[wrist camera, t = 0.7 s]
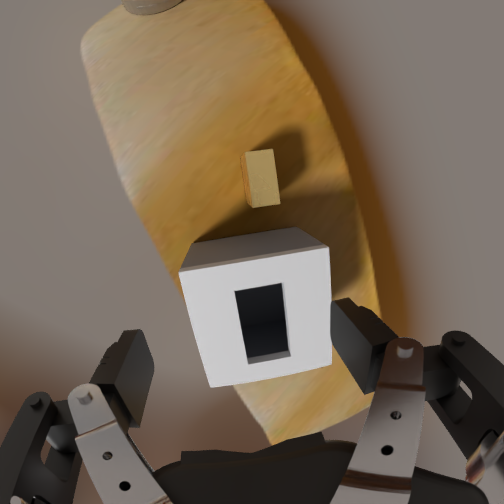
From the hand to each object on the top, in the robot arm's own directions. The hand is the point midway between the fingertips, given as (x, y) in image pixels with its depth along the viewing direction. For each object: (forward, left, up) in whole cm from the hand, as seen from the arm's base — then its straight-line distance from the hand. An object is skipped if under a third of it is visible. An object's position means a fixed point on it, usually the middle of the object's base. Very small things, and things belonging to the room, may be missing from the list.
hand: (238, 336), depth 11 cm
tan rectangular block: (-6, +4, -18) cm, 19 cm away
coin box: (+6, +2, -21) cm, 21 cm away
